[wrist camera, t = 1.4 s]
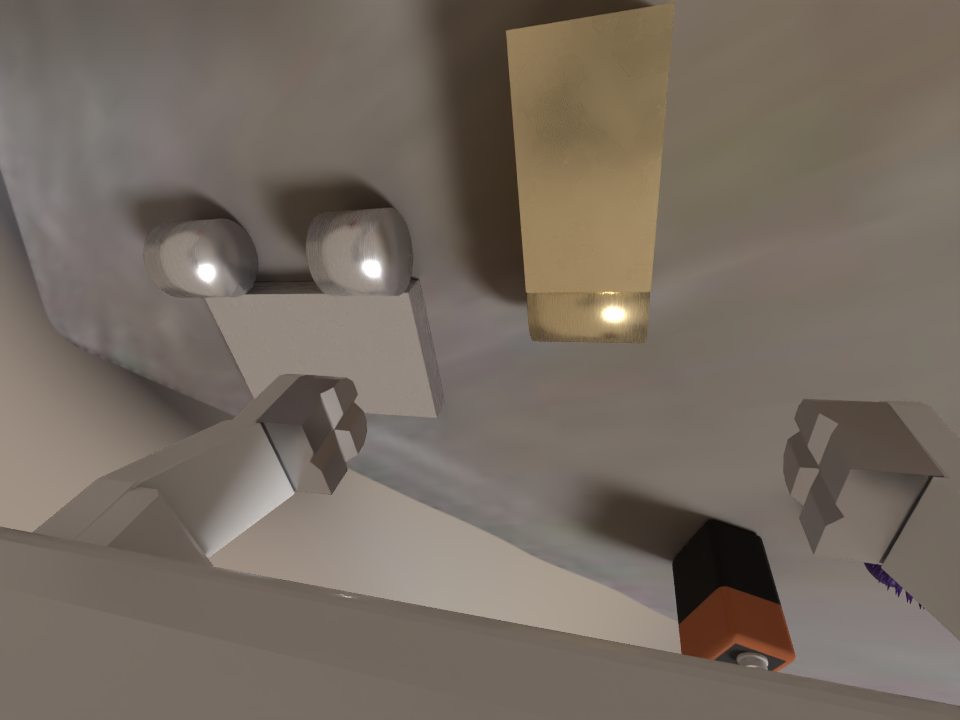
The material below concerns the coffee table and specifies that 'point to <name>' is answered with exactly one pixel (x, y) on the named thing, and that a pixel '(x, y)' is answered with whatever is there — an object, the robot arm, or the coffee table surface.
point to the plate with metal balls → (313, 305)
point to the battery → (730, 600)
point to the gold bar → (590, 169)
